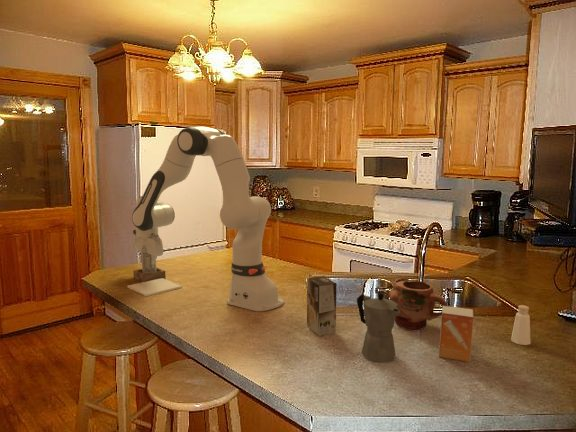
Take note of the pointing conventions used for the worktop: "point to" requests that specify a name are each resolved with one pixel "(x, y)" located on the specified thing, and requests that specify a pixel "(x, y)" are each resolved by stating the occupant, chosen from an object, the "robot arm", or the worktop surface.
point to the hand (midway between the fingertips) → (149, 262)
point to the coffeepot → (378, 327)
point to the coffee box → (321, 305)
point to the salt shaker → (521, 326)
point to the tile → (154, 287)
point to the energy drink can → (147, 262)
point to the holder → (149, 275)
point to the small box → (456, 333)
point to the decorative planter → (415, 304)
